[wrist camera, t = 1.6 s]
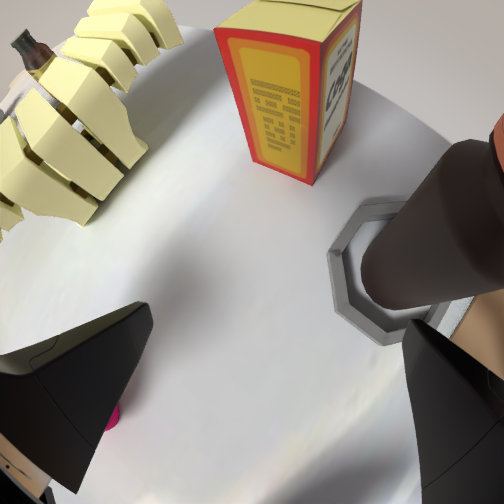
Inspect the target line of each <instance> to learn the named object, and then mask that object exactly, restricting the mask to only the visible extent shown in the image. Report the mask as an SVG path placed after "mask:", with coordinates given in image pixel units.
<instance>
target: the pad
mask: <svg viewBox="0 0 504 504" xmlns="http://www.w3.org/2000/svg"><path fill="white" fill-rule="evenodd" d="M449 340H451V341H452V342H453V343H455V344H456V345H458V346H459V347H460V348H462V349H463V350H464V351H466V352H467V353H468V354H470V355H471V356H472V357H474V358H475V359H476V360H478V361H479V362H480V363H482V364H483V365H484V366H486V367H487V368H488V370H491V371H492V372H493V373H495V374H496V375H497V376H499V377H500V378H501V379H504V289H501V290H497V291H493V292H489V293H485V294H480V295H476V296H475V297H474V299H473V301H472V303H471V304H470V306H469V308H468V310H467V311H466V313H465V315H464V316H463V318H462V320H461V321H460V323H459V325H458V326H457V328H456V329H455V331H454V332H453V334H452V335H451V337H450V338H449Z"/></svg>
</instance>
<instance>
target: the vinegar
mask: <svg viewBox="0 0 504 504" xmlns="http://www.w3.org/2000/svg"><path fill="white" fill-rule="evenodd" d="M361 279H362V283H363V285H364V288H365V290H366V293H367V294H368V295H369V296H370V297H371V299H372V300H373V301H374V302H375V303H377V304H378V305H380V306H381V307H383V308H386V309H390V310H402V309H409V308H415V307H421V306H427V305H432V304H438V303H443V302H448V301H453V300H458V299H463V298H467V297H472V296H476V295H480V294H485V293H489V292H493V291H497V290H501V289H504V114H503V115H502V116H501V118H500V119H499V120H498V122H497V123H496V125H495V126H494V129H493V131H492V132H491V134H490V135H489V143H488V142H484V141H479V140H473V139H469V140H465V141H461V142H458V143H455V144H453V145H452V146H451V147H450V148H449V149H448V150H447V151H446V153H445V154H444V155H443V156H442V157H441V158H440V160H439V161H438V162H437V164H436V165H435V166H434V168H433V169H432V170H431V172H430V173H429V174H428V176H427V177H426V178H425V179H424V181H423V182H422V183H421V185H420V186H419V187H418V188H417V190H416V191H415V192H414V193H413V195H412V196H411V197H410V198H409V200H408V201H407V202H406V203H405V205H404V206H403V207H402V208H401V209H400V211H399V212H398V213H397V214H396V215H395V217H394V218H393V219H392V220H391V221H390V222H389V224H388V225H387V226H386V227H385V228H384V229H383V231H382V232H381V233H380V234H379V235H378V236H377V237H376V238H375V240H374V241H373V242H372V243H371V244H370V245H369V246H368V248H367V250H366V252H365V254H364V255H363V258H362V263H361Z"/></svg>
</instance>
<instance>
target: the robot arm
mask: <svg viewBox="0 0 504 504" xmlns="http://www.w3.org/2000/svg"><path fill="white" fill-rule="evenodd" d="M152 328H153V319H152V315H151V311H150V307H149V305H148V303H146V302H140V301H137V302H134V303H132V304H130V305H127V306H125V307H123V308H120V309H118V310H116V311H113V312H111V313H109V314H106V315H104V316H101V317H99V318H97V319H94V320H92V321H90V322H87V323H85V324H83V325H80V326H78V327H76V328H73V329H71V330H68V331H66V332H64V333H61V334H60V335H57V336H54V337H52V338H49V339H47V340H44V341H42V342H39V343H37V344H34V345H31V346H28V347H25V348H22V349H19V350H16V351H13V352H11V353H8V354H4V355H0V504H56V503H55V499H54V496H53V492H52V488H51V487H49V486H48V485H49V483H50V481H51V480H52V478H53V479H54V480H55V481H57V482H58V483H60V484H61V485H62V486H64V487H65V488H67V489H68V490H70V491H71V492H73V493H74V494H77V492H78V490H79V488H80V485H81V483H82V481H83V478H84V476H85V474H86V471H87V469H88V467H89V464H90V462H91V460H92V457H93V455H94V453H95V450H96V448H97V446H98V444H99V442H100V439H101V437H102V435H103V433H104V431H105V429H106V427H107V424H108V422H109V420H110V418H111V416H112V414H113V412H114V410H115V408H116V406H117V404H118V402H119V400H120V398H121V396H122V394H123V392H124V390H125V388H126V386H127V384H128V382H129V380H130V378H131V376H132V374H133V372H134V370H135V368H136V366H137V364H138V362H139V360H140V358H141V355H142V353H143V350H144V348H145V345H146V343H147V340H148V338H149V335H150V333H151V330H152ZM402 349H403V356H404V364H405V373H406V381H407V387H408V392H409V397H410V402H411V407H412V412H413V418H414V424H415V431H416V437H417V445H418V453H419V462H420V473H421V488H422V504H504V380H503V379H501V378H500V377H499V376H497V375H496V374H495V373H493V372H492V371H491V370H488V368H487V367H486V366H484V365H483V364H482V363H480V362H479V361H478V360H476V359H475V358H474V357H472V356H471V355H470V354H468V353H467V352H466V351H464V350H463V349H462V348H460V347H459V346H458V345H456V344H455V343H453V342H452V341H451V340H449V339H448V338H447V337H445V336H444V335H442V334H441V333H440V332H438V331H437V330H435V329H434V328H433V327H431V326H430V325H428V324H427V323H425V322H424V321H423V320H421V319H411V320H409V322H408V324H407V327H406V330H405V333H404V336H403V339H402Z"/></svg>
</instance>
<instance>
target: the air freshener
mask: <svg viewBox="0 0 504 504" xmlns="http://www.w3.org/2000/svg"><path fill="white" fill-rule="evenodd" d="M3 120H4V112H3V110H1V109H0V125H1V124H2V123H3Z"/></svg>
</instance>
